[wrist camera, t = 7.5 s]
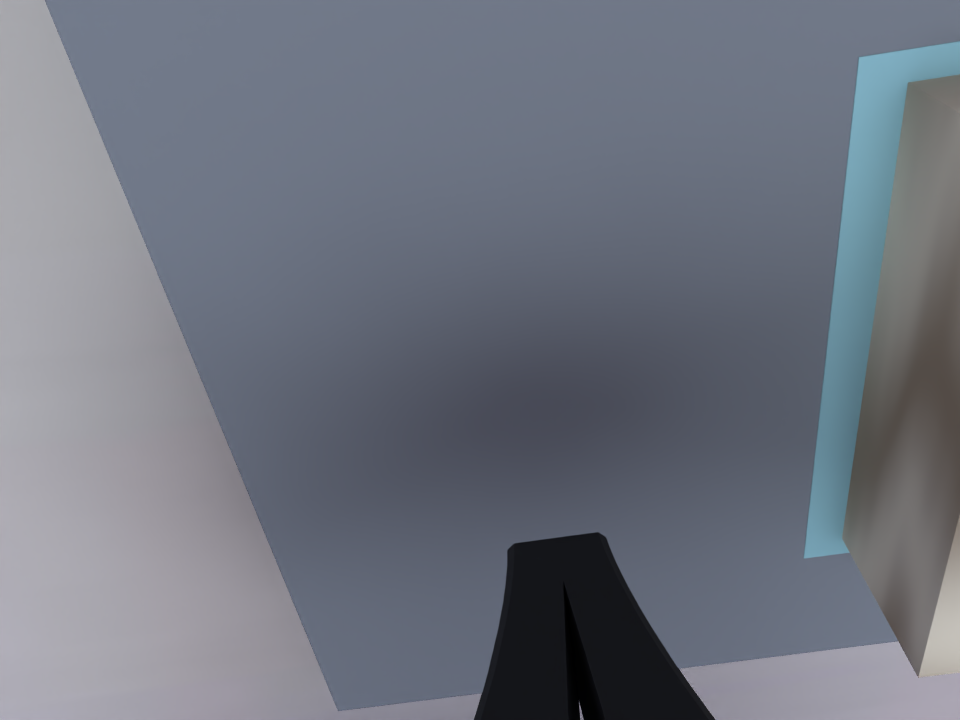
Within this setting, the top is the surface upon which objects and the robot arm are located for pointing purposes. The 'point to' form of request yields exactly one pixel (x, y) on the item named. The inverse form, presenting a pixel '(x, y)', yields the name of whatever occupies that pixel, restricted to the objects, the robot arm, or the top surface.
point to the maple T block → (915, 395)
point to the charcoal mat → (525, 295)
